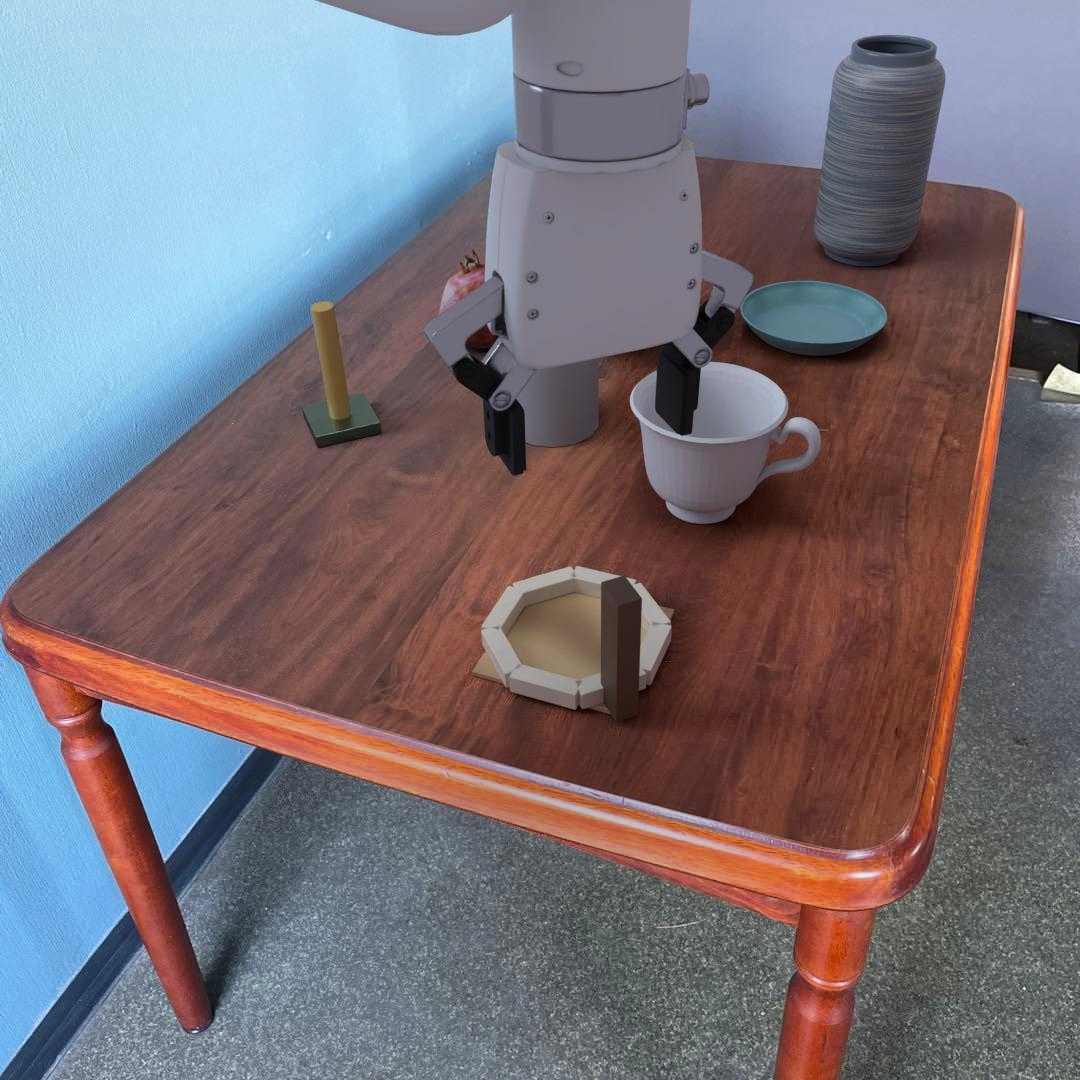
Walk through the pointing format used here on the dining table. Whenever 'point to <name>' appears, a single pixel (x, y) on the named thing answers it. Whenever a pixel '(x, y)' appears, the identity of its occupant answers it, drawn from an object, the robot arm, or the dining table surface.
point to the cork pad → (558, 639)
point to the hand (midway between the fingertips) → (593, 442)
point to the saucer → (813, 317)
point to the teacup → (718, 442)
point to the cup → (561, 404)
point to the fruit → (460, 288)
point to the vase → (878, 148)
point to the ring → (620, 641)
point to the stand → (336, 389)
